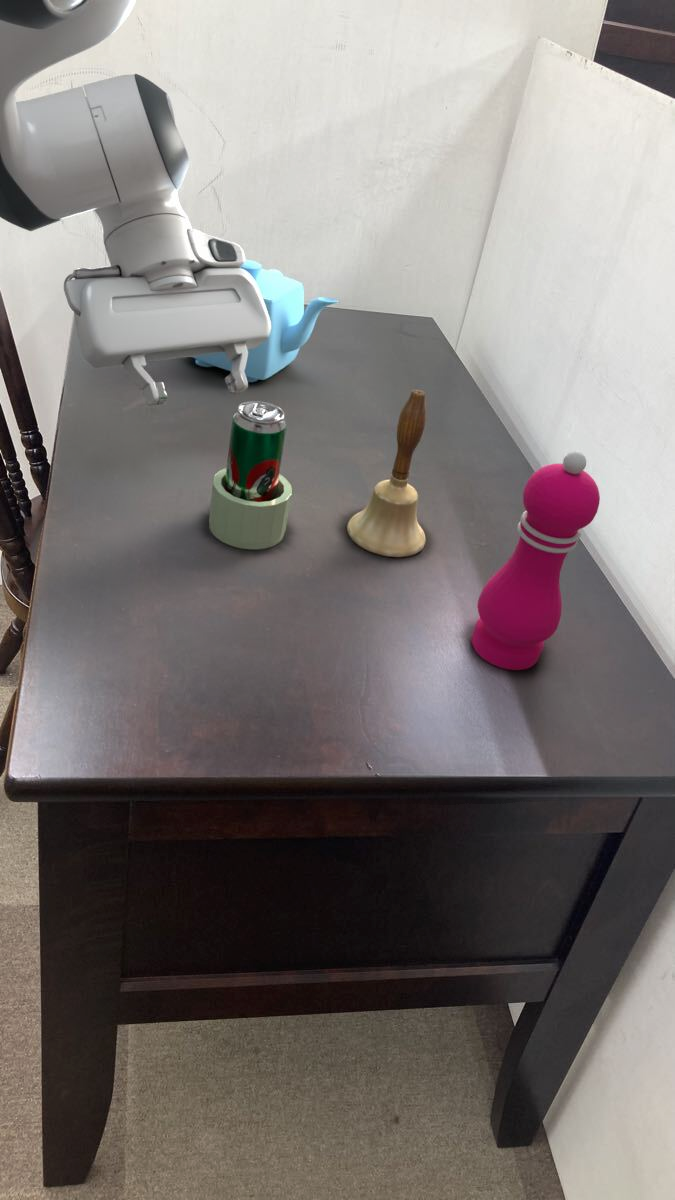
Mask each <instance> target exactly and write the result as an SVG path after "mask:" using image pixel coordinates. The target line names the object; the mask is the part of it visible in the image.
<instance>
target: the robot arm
mask: <svg viewBox="0 0 675 1200" xmlns="http://www.w3.org/2000/svg"><path fill="white" fill-rule="evenodd" d="M136 2H137V0H0V218H1V219H2V220H4V221H5V222H8V223H10V224H12V225H14V226H16V227H18V228H21V229H22V230H26V231H28V232H33V231H36V230H39V229H42V228H44V227H47V226H49V225H52V224H55V223H57V222H60V221H61V220H62V219H65V218H69V217H73V216H76V215H80V214H84V213H87V212H91V211H93V212H94V213H95V215H96V216H97V218H98V220H99V221H100V224H101V228H102V242H103V247H104V250H105V252H106V255H107V258H108V261H109V265H110V266H100V267H95V268H88V267H79V268H76V269H73V272H72V273H70V274H68V275H67V276H66V278H65V279H64V281H63V292H64V296H65V298H66V301H67V304H68V306H69V308H70V309H71V310H72V312H73V314H74V322H75V328H76V334H77V339H78V343H79V347H80V351H81V354H82V357H83V360H85V361H86V363H88V364H89V365H90V366H91V367H93V368H94V369H100V368H107V367H115V366H122V367H123V369H124V373H125V376H126V377H127V378H128V379H129V380H130V381H131V382H133V384H134V385H135V386H137V387H138V388H139V390H141V391H142V393H143V396H144V399H145V403H146V404H147V406H148V407H152V406H158V405H163V404H164V403H165V402H167V400H168V394H167V392H166V390H165V389H166V388H165V384H164V382H163V381H157V382H155V380H154V378H153V377H152V376H151V375H150V374H149V373H148V372H147V371H146V370H145V369H144V368H145V367H146V366H147V363H149V362H157V361H164V360H165V361H166V360H174V359H183V358H189V357H190V358H192V357H191V356H199V355H207V354H216V353H224V352H225V354H226V357H227V360H228V361H229V362H230V361H233V364H232V371H230V373H229V374H228V375H227V376H226V377H225V378H224V380H225V381H224V382H225V385H226V386H227V390H228V392H229V394H236V393H243V392H244V391H246V390H247V389H248V388H249V382H247V378H246V375H245V372H244V370H245V367H246V362H247V357H248V349H255V348H257V347H258V346H259V345H261V344H262V343H263V342H264V341H265V340H267V339H268V337H269V335H270V331H271V322H270V318H269V315H268V312H267V309H266V306H265V303H264V301H263V298H262V295H261V293H260V291H259V288H258V286H257V284H256V282H255V280H254V279H253V277H252V276H251V275H250V274H249V273H248V272H247V271H245V270H244V269H241V267H242V265H243V264H244V263H245V260H246V255H245V252H244V251H245V250H244V249H243V247H242V246H241V245H239V244H238V243H236V242H232V241H229V240H226V239H222V238H219V237H215V236H213V235H210V234H207V233H205V232H202V231H200V230H199V229H195V228H192V225H191V222H190V220H189V217H188V215H187V214H186V213H185V211H184V210H183V208H182V205H181V204H180V201H179V196H178V191H179V190H180V188H181V186H182V184H183V182H184V180H185V177H186V174H187V172H188V169H189V168H190V157H189V153H188V151H187V149H186V146H185V144H184V142H183V139H182V136H181V135H180V132H179V129H178V127H177V124H176V120H175V114H174V108H173V104H172V101H171V98H170V96H169V94H168V93H167V92H166V91H165V90H163V89H162V88H161V87H159V86H158V85H157V84H156V83H154V82H153V81H151V80H150V79H149V78H146V77H145V76H143V75H141V74H138V73H134V74H122V75H116V76H113V77H109V78H104V79H100V80H98V81H93V82H90V83H86V84H83V85H81V86H76V87H74V88H69V89H66V90H61V91H58V92H53V93H50V94H47V95H43V96H39V97H35V98H31V99H27V100H20V101H17V99H16V94H17V92H18V90H19V88H20V87H21V86H22V85H23V84H25V83H26V82H27V81H28V80H30V79H32V78H33V77H34V76H36V75H38V74H39V73H41V72H42V71H44V70H46V69H48V68H50V67H52V66H55V65H56V64H59V63H61V62H63V61H65V60H67V59H70V58H71V57H74V56H76V55H79V54H81V53H83V52H86V51H87V50H89V49H91V48H94V47H96V46H97V45H99V44H101V43H102V42H104V41H105V40H107V39H108V38H110V36H111V35H113V34H115V32H116V31H117V30H118V29H119V28H120V27H121V25H123V24H124V22H125V21H126V19H127V18H128V17H129V15H130V13H131V11H132V10H133V8H134V6H135V4H136Z"/></svg>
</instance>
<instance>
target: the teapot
mask: <svg viewBox="0 0 675 1200" xmlns="http://www.w3.org/2000/svg"><path fill="white" fill-rule="evenodd" d="M262 267H263V266H262V264H260V262H259V263H258V262H257V261H254V260H250V259H245V263H244V264H243V265H242V267H241V269H244V270H245V271H247V272H248V273H249V274H250V275H251V276H252V277H253V279H254V280H255V282H256V284H257V286H258V288H259V291H260V293H261V295H262V298H263V301H264V303H265V306H266V309H267V312H268V315H269V318H270V322H271V331H270V335H269V337H268V339H267V340H265V341H264V342H263V343H262V344H261V345H259V346H258V347H257V348H255V349H248V357H247V362H246V367H245V370H244V372H245V375H246V378H247V382H248V383H255V382H257V381H258V380H263V381H264V380H268V379H269V378H270V377H272V376H273V375H275V374H277V373H278V372H279V371H281V370H283V369H284V368H285V367H286V366H288V365H289V364H291V363H292V362H293V361H294V360H295V359H296V358H297V356H298V354H299V351H300V348H301V347H303V346H304V345H305V344H306V343H307V342H308V340H309V338H310V337H311V335H312V332H313V330H314V328H315V324H316V322H317V319H318V317H319V315H320V313H321V312H322V311H323V309H325V308H326V307H328V306H330V305H333V304H337V303H339V300H338V299H334V298H330V297H324V296H323V297H322V296H321V297H316V298H314V299H312V300H311V301H310V302H309V303H308V304H307V306H306V307H305V294H304V293H305V291H304V284H303V283H302V282H300V281H299V280H296V279H293V278H290V277H287V276H285V275H283V273H282V271H280V270H278V269H269V270H267V269H264V268H262ZM190 358H193V359H195V364H196V365H198V366H200V367H204V368H212V367H217V368H220V369H223V370H225V371H229V372H231V371H232V364H233V361H230V362H229V361H228V360H227V357H226V354H225V352H224V353H216V354H207V355H199V356H191V357H190Z"/></svg>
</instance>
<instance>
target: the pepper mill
mask: <svg viewBox="0 0 675 1200" xmlns="http://www.w3.org/2000/svg"><path fill="white" fill-rule="evenodd" d="M586 466H587V459H586V456H585V455H584V453H582V452H580V451H577V450H575V451H570V452H567V454H566V455H565V456H564V457H563V459H562V463H551V464H547V465H544V466H541V467H540V468H538V469H537V470H535V471H534V472H533V473H532V475H531V476H530V477H529V478H528V479H527V481H526V484H525V486H524V489H523V491H522V503H523V506H524V509H525V510H524V511H523V513H522V514H521V516H520V521H519V522H518V524H517V532H518V534H519V539H518V543H517V544H516V547H515V550H514V551H513V553H512V554H511V556H510V558H509V559H508V560H507V561H506V562H505V563H504V564H503V565H502V566H501V567H500V568H499V569H498V570H497V571H496V572H495V573H494V574H493V575H492V576H491V577H490V578H489V579H488V581H487V583H486V584H485V585H484V587H483V588H482V590H481V593H480V595H479V597H478V600H477V613H478V616H479V618H478V619H477V621H476V623H475V626H474V629H473V631H472V634H471V643H472V647H473V649H474V651H475V652H476V654H478V655H479V656H480V657H481V659H483V660H484V661H486V662H487V663H489V664H491V665H493V666H495V667H498V668H500V669H505V670H510V671H522V670H527V669H530V668H532V667H533V666H534V665H535V664H536V663H537V662H538V660H539V658H540V655H541V653H542V651H543V649H544V645H545V642H546V641H547V640H548V639H550V638H551V637H552V636H553V635H554V634H555V633H556V631H557V630H558V627H559V625H560V620H561V617H562V608H563V607H562V603H563V601H562V592H561V588H560V579H561V571H562V568H563V564H564V561H565V559H566V557H567V555H568V553H569V552H572V551H573V550H575V549H576V548H577V546H578V540H579V539H580V538H581V535H582V529H583V528H586V527H587V526H589V525H590V524H591V523H592V521H594V519H595V517H596V515H597V514H598V510H599V506H600V501H601V496H600V490H599V486H598V485H597V482H596V481H595V480H594V479H593V477H592V476H591V475H590V474H589V473H587V472H586V471H585V469H586Z"/></svg>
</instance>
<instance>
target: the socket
mask: <svg viewBox="0 0 675 1200" xmlns="http://www.w3.org/2000/svg"><path fill="white" fill-rule="evenodd" d="M226 468H227V467H225V468H222V469H220V470H219V471H218V472H217V473H215V475H213V478H212V489H211V497H210V507H209V516H208V528H209V531H210V533H211V534H212V535H213V536H214V537H215V538H216V539H218V541H220V542H221V543H223V544H226V545H229V546H231V547H234V548H237V549H243V550H251V551H252V550H254V551H255V550H256V551H257V550H264V549H265V550H266V549H269V548H272V547H274V546H276V545H278V544H279V543H280V542H281V541H282V540H283V539H284V538H285V534H286V531H287V527H288V521H289V520H288V519H289V514H290V508H291V502H292V495H293V487H292V485H291V483H290V482H289V481H288V479H287V478H286V477H284V475H282V474H280V473H279V479H278V485H277V491H276V498H275V499H274V500H271V501H264V502H254V501H246V500H243V499H240V498H237V497H234V496H233V495H231V494H230V493H228V492H227V491H225V489H224V485H225V477H226Z"/></svg>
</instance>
